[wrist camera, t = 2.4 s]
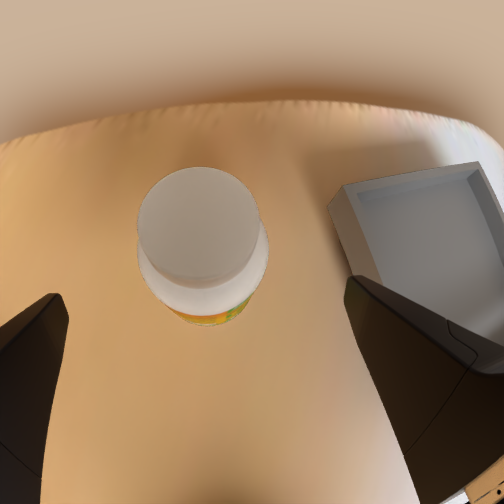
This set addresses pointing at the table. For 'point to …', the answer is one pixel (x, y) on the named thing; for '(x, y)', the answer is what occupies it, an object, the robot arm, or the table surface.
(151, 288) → the supplement bottle
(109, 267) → the table surface
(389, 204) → the grey toy cart
